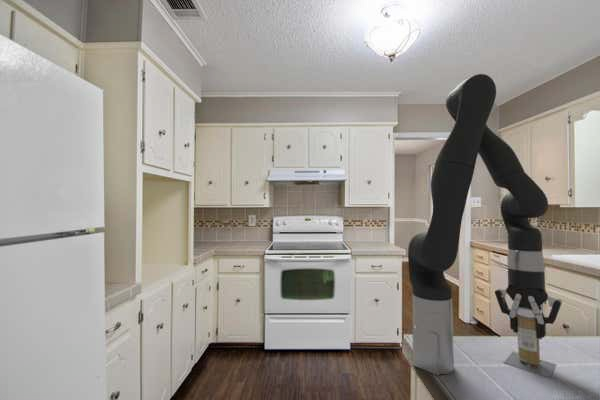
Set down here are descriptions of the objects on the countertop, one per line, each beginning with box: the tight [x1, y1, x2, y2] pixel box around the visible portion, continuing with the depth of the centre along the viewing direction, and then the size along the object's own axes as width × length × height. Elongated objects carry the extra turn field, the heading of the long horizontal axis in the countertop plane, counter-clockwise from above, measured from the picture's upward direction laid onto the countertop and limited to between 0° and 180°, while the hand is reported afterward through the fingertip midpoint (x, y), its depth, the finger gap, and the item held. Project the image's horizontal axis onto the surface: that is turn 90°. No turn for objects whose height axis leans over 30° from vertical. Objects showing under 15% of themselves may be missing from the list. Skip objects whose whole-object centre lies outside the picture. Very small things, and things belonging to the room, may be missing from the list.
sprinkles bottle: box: [516, 307, 541, 365], centre depth 73 cm, size 5×5×14 cm
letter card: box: [503, 351, 557, 379], centre depth 73 cm, size 9×9×1 cm
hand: (527, 334), depth 73 cm, fingers closed on sprinkles bottle, 4 cm apart
